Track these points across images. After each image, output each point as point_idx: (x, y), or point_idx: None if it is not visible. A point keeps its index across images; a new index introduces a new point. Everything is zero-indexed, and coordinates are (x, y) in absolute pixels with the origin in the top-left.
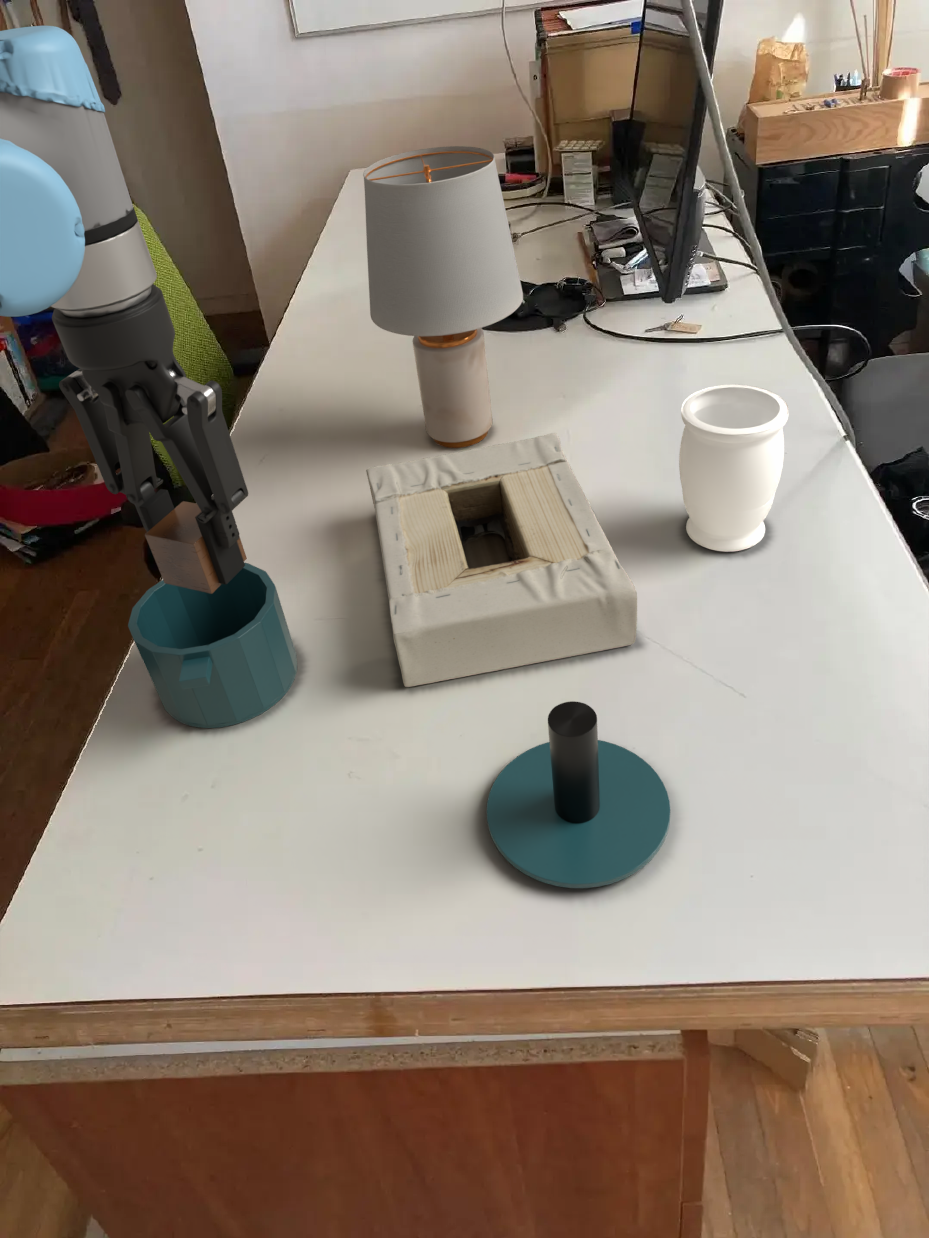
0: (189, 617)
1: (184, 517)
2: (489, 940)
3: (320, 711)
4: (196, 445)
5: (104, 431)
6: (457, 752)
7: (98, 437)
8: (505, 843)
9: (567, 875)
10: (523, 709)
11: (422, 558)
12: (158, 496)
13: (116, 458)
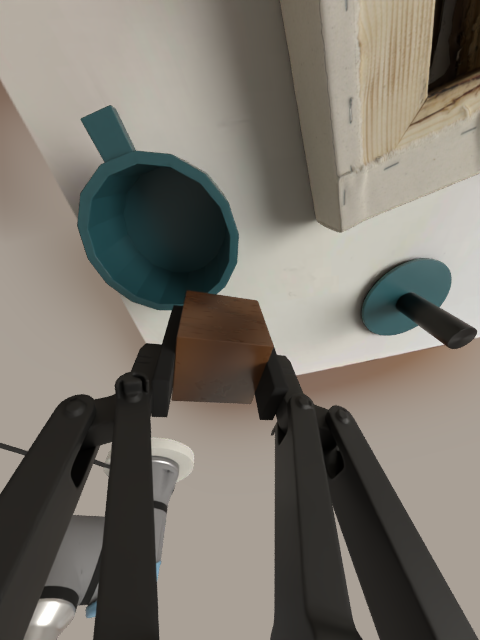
0: (115, 194)
1: (207, 368)
2: (353, 351)
3: (260, 250)
4: (370, 607)
5: (14, 632)
6: (348, 270)
7: (27, 625)
8: (369, 324)
9: (391, 332)
10: (392, 230)
11: (377, 72)
12: (165, 396)
13: (69, 497)
